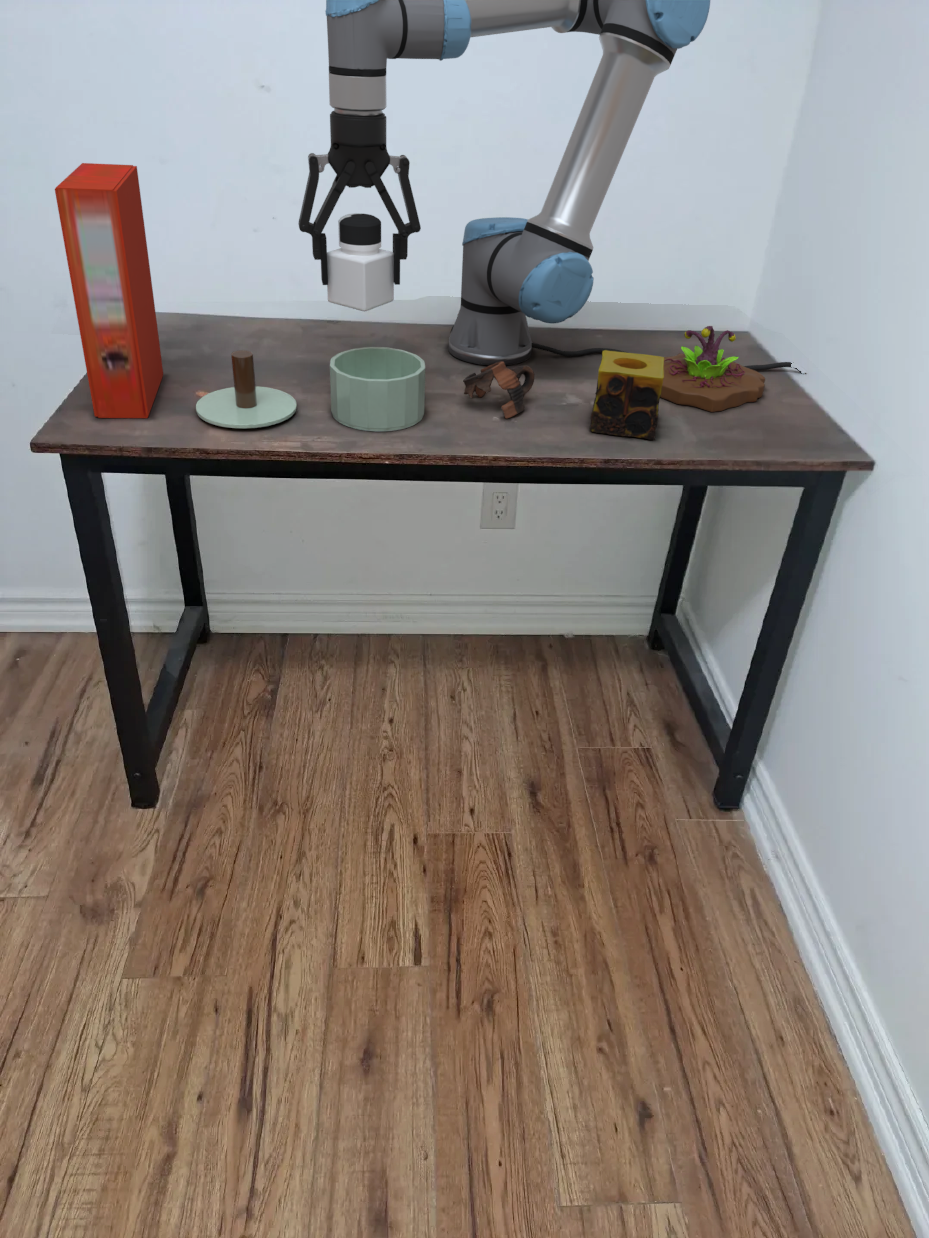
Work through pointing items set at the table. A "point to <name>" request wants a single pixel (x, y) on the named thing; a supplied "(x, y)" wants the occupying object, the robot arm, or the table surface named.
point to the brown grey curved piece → (502, 385)
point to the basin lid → (245, 400)
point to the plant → (709, 376)
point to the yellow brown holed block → (628, 395)
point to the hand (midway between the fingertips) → (360, 282)
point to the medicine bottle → (360, 265)
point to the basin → (377, 388)
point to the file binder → (112, 287)
